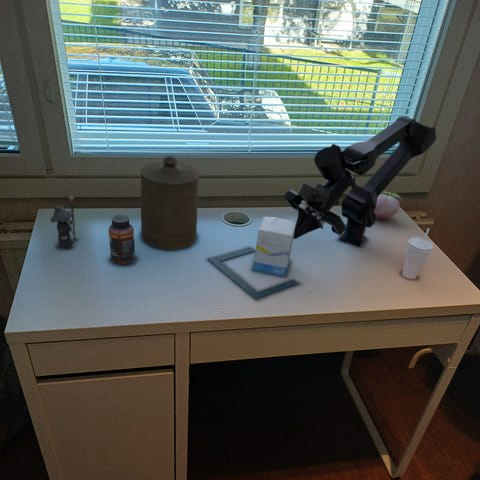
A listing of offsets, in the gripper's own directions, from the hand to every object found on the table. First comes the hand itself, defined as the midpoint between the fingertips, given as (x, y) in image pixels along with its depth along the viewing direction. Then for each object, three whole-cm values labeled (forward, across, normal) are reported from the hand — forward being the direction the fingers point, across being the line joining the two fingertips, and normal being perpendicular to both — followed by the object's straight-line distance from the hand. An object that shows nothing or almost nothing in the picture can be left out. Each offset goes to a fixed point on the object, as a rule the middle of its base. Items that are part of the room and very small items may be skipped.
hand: (292, 237), depth 122 cm
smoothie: (-12, +22, +22) cm, 33 cm away
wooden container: (+20, -26, -10) cm, 34 cm away
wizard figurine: (+38, -34, -28) cm, 58 cm away
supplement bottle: (+32, -20, -22) cm, 44 cm away
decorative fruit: (-27, -6, +36) cm, 46 cm away
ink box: (+9, 0, +1) cm, 9 cm away
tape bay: (+14, 0, -4) cm, 14 cm away
